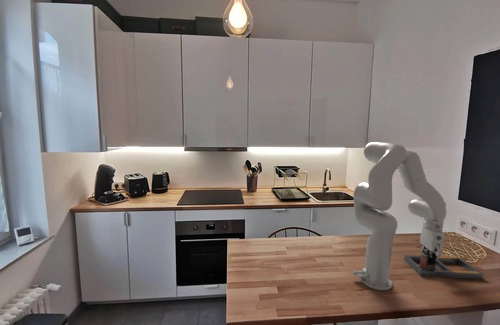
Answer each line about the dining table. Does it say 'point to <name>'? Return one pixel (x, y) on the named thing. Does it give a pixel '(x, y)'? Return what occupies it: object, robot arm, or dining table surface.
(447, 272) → the grey divided frame
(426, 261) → the reddish brown container
